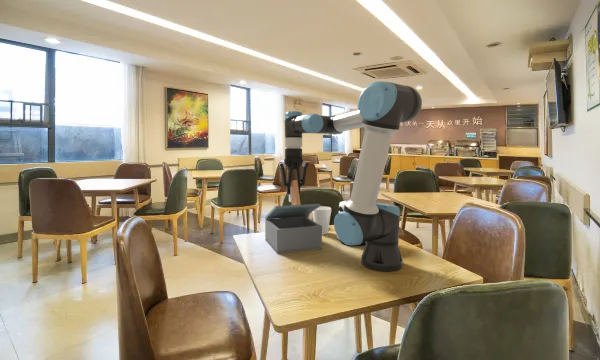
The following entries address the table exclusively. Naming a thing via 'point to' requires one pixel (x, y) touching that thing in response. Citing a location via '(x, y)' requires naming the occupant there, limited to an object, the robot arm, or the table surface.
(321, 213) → the foam cup
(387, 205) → the robot arm
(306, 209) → the lid flap
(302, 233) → the carton
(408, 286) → the table surface
